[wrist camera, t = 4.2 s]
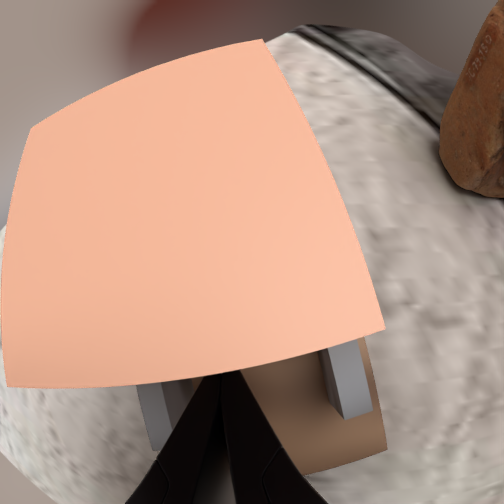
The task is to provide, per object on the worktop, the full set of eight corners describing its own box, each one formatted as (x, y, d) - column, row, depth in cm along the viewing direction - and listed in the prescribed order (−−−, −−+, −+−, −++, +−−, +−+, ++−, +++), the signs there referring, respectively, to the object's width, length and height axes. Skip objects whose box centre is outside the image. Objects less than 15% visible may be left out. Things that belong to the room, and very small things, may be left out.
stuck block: (307, 343, 14) (385, 328, 3) (196, 368, 15) (7, 386, 3) (279, 237, 16) (261, 39, 5) (177, 263, 17) (31, 127, 5)
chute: (379, 442, 13) (414, 474, 8) (186, 479, 14) (151, 518, 8) (288, 132, 21) (286, 76, 15) (136, 174, 21) (103, 131, 16)
